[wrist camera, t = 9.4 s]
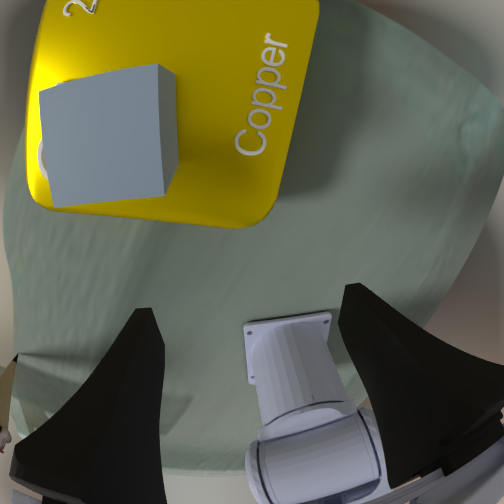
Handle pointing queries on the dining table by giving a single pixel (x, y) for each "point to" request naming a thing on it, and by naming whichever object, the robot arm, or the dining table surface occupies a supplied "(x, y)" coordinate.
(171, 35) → the element tile
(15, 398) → the dining table surface
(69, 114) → the slate-blue cube
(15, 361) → the ice cream cone
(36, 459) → the robot arm
